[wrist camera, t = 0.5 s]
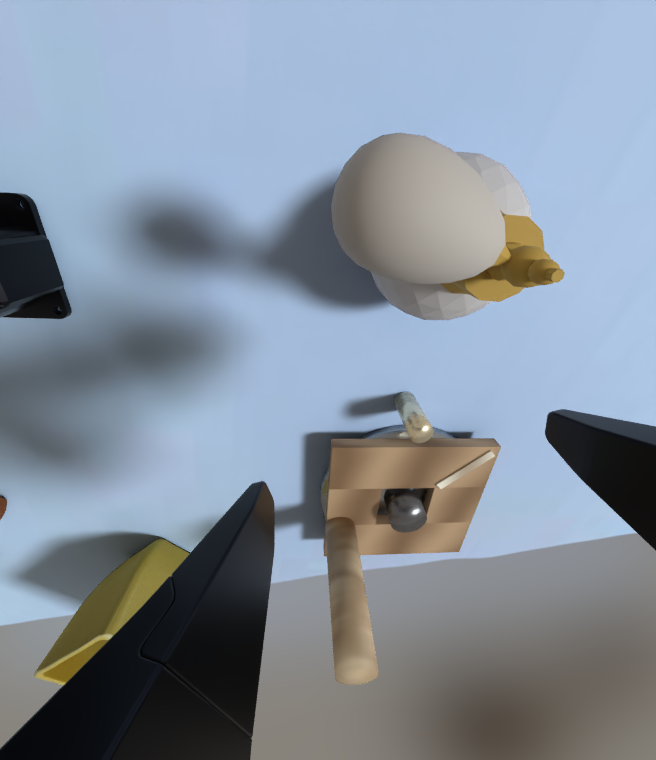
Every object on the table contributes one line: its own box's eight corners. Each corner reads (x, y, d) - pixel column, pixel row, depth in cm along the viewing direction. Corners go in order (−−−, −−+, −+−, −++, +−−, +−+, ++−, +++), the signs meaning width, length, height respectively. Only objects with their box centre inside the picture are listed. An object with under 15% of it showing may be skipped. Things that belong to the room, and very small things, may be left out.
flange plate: (322, 546, 30) (331, 704, 21) (329, 438, 24) (347, 593, 15) (454, 542, 31) (521, 690, 22) (494, 438, 25) (611, 581, 16)
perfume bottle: (472, 296, 21) (644, 389, 10) (323, 307, 20) (344, 415, 10) (494, 157, 17) (797, 80, 7) (314, 169, 17) (332, 107, 6)
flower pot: (172, 593, 34) (134, 708, 27) (99, 558, 31) (28, 679, 23) (229, 558, 32) (205, 672, 24) (157, 516, 29) (101, 634, 21)
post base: (317, 538, 32) (319, 580, 28) (325, 390, 23) (329, 423, 20) (453, 534, 33) (471, 574, 29) (506, 392, 25) (539, 423, 21)
